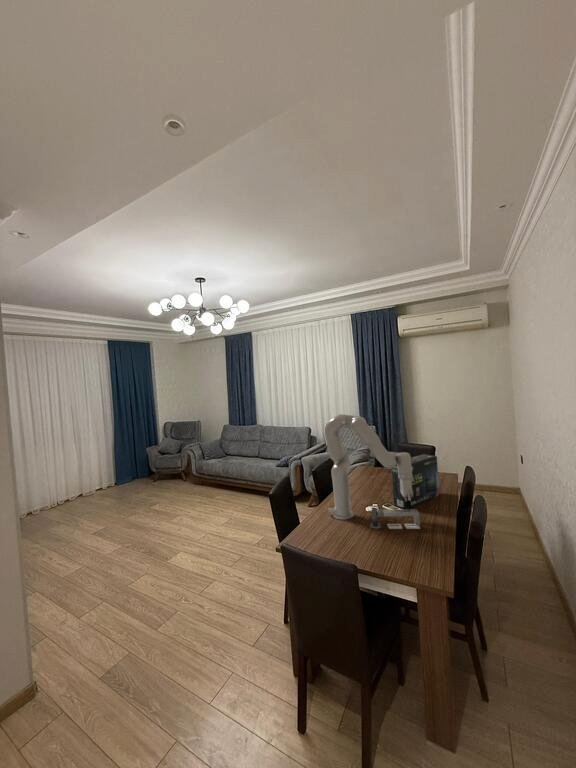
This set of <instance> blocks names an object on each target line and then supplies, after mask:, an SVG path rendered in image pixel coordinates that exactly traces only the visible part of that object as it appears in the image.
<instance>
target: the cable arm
mask: <svg viewBox="0 0 576 768" xmlns="http://www.w3.org/2000/svg"><path fill="white" fill-rule="evenodd" d="M377 515H378V518H379V517H380V518H385V517H413V524H415V525H416V526H419V527H421V526H420V525H421V523H420V512H419V510H418V509H417V508H410V509H405V508H400V509H392V508H391V509H383V508H377Z"/></svg>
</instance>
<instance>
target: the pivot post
mask: <svg viewBox="0 0 576 768" xmlns="http://www.w3.org/2000/svg"><path fill="white" fill-rule="evenodd" d="M371 519H372V522H371V523H370V524H369V528H370V529H372V530H380V529H382V524H381V523H379V515H378V508H377V507H375V506H373V507H371Z"/></svg>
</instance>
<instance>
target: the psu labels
mask: <svg viewBox="0 0 576 768" xmlns="http://www.w3.org/2000/svg"><path fill="white" fill-rule="evenodd" d="M404 527H405V529H406V530H421V526H416V525H415V523H404ZM387 528H388V529H389V530H402V529H403V526H402V524H401V523H387Z"/></svg>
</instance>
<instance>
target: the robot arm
mask: <svg viewBox="0 0 576 768" xmlns="http://www.w3.org/2000/svg"><path fill="white" fill-rule="evenodd" d="M343 429H347V430H348V429H350V430H352V431H353V432H354V433H355V434H356V435H357V436H358V438H360V440H361V441H362V442H363V443H364V444H365V446H366V447H367V448H368V450H369V451H370V452H371V454H372V455H373V456H374V458H375V459H376V460H377V461H378V462H379V463H380V464H381V465H382V466H383V467H384V468H385V469H387V470H391V469H392V468H394V467H395V466H396V464H397V468H398V478H400V492H401V494H402V496H403V497H404V499H405V500H404V501H405V508H410V509H413V507H412V506H411V497H413V493H412V484H411V479H412V478H413V477H412V466H411V457H412V456H411V454H410V453H409V452H404V451H403V452H402V451H401V452H395V451H388V450H387V449H386V447H385V446H384V445H383V443H382V442H381V439H380V438H379V435H378V434H377V433H376V432H375V430H373V428H371V426H369V424H368V423H367V420H366V418H364V417H363V416H359V415H358V416H357V415H350V414H344V413H343V414H337V415H335V416H334V417H332V418H331V419H330V420H329V421H327V423H326V425H325V427H324V434H325V439H326V444H327V449H328V455H329V458H330V459H331V460H332V461H333V462H334V464H333V466H332V468H331V470H330V471H331V472H330V473H331V479H332V480H331V481H332V488H333V489H332V491H333V502H334V507H327V512H328V513H330V514H332V516H333V518H334V519H337V520H343V521H345V520H350V519H352V518H353V517H354V516H355V512H354V511H352V507H351V506H352V505H351V494H350V493H351V491H350V481H349V472H350V469H351V465H350V460H349V459H350V458H349V454H348V450H347V446H346V445H345V444H344V443H342V440H341V439H342V438H341V436H340V431H341V430H343ZM405 508H404V509H405Z"/></svg>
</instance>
